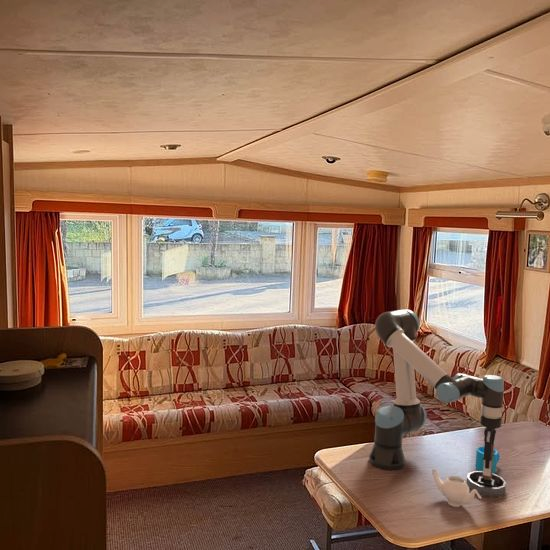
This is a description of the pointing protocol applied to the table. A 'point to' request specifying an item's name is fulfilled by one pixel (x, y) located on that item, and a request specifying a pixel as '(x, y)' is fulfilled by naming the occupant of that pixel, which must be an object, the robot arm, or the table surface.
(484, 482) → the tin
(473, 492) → the teapot
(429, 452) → the table surface
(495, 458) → the mug
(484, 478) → the square wooden stick
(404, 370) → the robot arm
